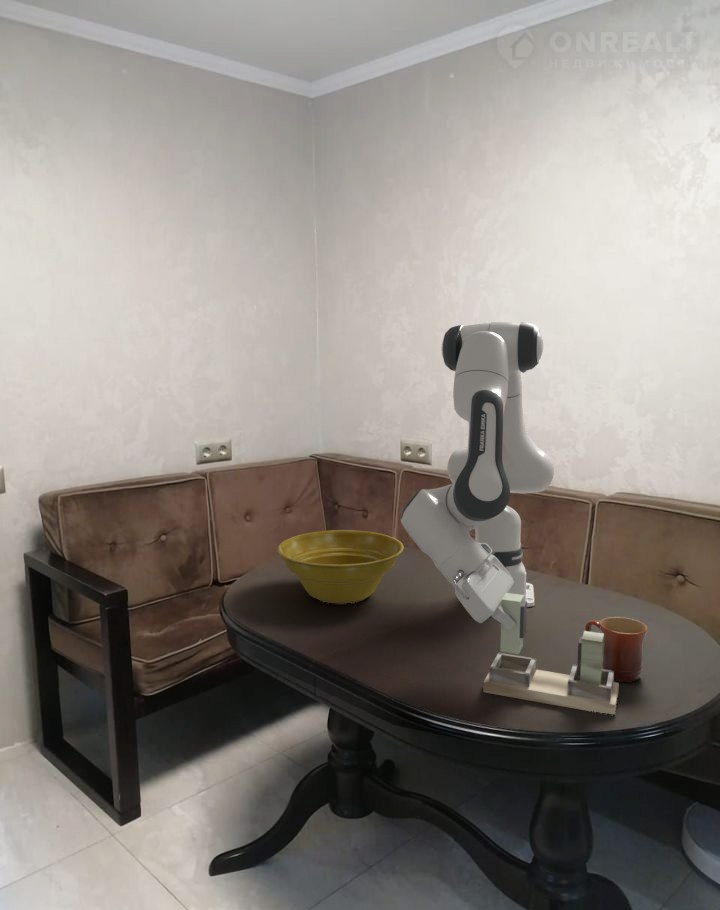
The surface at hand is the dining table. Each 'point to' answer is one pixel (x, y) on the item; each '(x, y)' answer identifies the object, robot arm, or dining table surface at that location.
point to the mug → (622, 646)
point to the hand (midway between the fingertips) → (515, 621)
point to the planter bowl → (340, 562)
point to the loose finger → (514, 636)
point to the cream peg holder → (558, 679)
